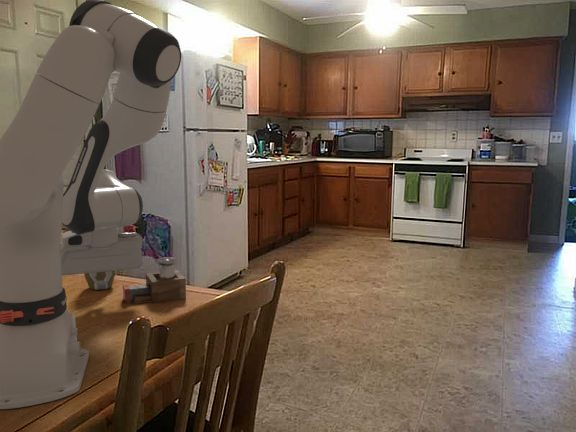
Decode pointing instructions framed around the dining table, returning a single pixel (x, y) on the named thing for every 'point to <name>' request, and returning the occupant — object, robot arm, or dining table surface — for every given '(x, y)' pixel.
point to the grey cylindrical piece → (166, 267)
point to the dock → (163, 288)
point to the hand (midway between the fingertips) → (101, 288)
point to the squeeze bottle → (98, 279)
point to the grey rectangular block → (135, 292)
